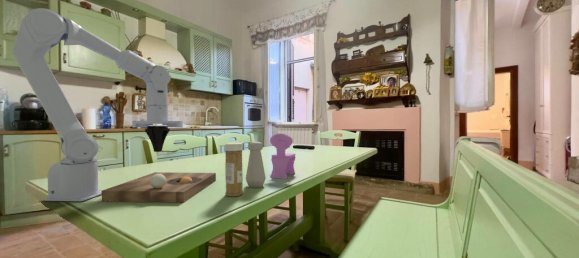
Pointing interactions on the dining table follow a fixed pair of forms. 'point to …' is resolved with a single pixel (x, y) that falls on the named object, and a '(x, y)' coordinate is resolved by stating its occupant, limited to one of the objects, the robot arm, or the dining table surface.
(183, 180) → the orange ball
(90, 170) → the robot arm
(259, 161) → the salt shaker
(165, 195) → the board
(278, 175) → the toy chair
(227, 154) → the spice jar
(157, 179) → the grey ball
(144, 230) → the dining table surface
